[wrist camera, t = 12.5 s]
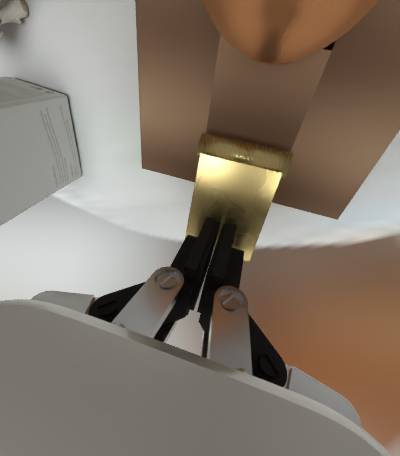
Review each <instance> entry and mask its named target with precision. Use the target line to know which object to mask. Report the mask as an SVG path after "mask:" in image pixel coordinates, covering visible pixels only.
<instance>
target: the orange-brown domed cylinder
mask: <svg viewBox="0 0 400 456" xmlns="http://www.w3.org/2000/svg"><path fill="white" fill-rule="evenodd" d="M203 1H204V4H205V6H206V9H207V11H208V13H209V15H210V18H211V20H212V21H213V23H214V25H215V26H216V28H217V30H218V31H219V32H220V34H221V35H222V36H223V37H224V39H225V40H226V41H227V42H228V43H229V44H230V45H232V46H233V47H234V48H235V49H236V50H238V51H239V52H241V53H242V54H244V55H246V56H248V57H249V58H251V59H253V60H255V61H258V62H260V63H264V64H270V65H281V64H288V63H292V62H295V61H298V60H300V59H303V58H305V57H307V56H309V55H311V54H313V53H315V52H317V51H319V50H321V49H323V48H325V47H327V46H328V45H330V44H331V43H333V42H334V41H336V40H337V39H339V38H340V37H341V36H343V35H344V34H345V33H346V32H348V31H349V30H350V29H351V28H352V27H354V26H355V25H356V24H357V23H358V22H359V21H360V20H361V19H362V18H363V17H364V16H365V15H366V14H367V13H368V12H369V11H370V10H371V9H372V8H373V6H374V5H375V4H376V3H377V2H378V1H379V0H203Z"/></svg>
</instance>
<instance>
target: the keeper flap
mask: <svg viewBox="0 0 400 456" xmlns="http://www.w3.org/2000/svg"><path fill="white" fill-rule="evenodd" d="M197 157H199V158H200V159H199V164H198V170H197V175H196V181H195V186H194V192H193V197H192V203H191V208H190V214H189V219H188V225H187V230H186V236H185V238H186V237H187V235H191V236H195V237H198V235H199V233H200V231H201V229H202V227H203V225H204V223H205V220H206V218H207V217H212V218H215V219H217V222H220V224H219V228H218V232H217V236H216V240H215V244H214V248H213V251H214V250H215V247H216V244H217V241H218V238H219V235H220V232H221V229H222V226H223V223H224V224H227V223H228V222H230V223H233V224H237V228H236V232H235V236H234V241H233V245H232V248H236V249H239V250H243V251H244V259H243V260H246V261H250V258H251V255H252V253H253V250H254V247H255V245H256V242H257V239H258V237H259V234H260V232H261V229H262V226H263V224H264V221H265V218H266V216H267V213H268V210H269V208H270V205H271V202H272V200H273V197H274V194H275V192H276V189H277V186H278V184H279V181H280V179H281V178H284V177H285V176H286V174H287V172H288V170H289V167H290V165H291V162H292V158H293V153H291V152H287V151H283V150H278V149H274V148H269V147H265V146H261V145H256V144H252V143H247V142H243V141H239V140H234V139H230V138H225V137H221V136H217V135H212V134H208V133H202V134H201V136H200V139H199V142H198V147H197Z"/></svg>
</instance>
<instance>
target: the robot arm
mask: <svg viewBox="0 0 400 456" xmlns="http://www.w3.org/2000/svg"><path fill="white" fill-rule="evenodd" d="M219 224H220V222H217V219H215V218H212V217H207V218H206V220H205V223H204V225H203V227H202V229H201V231H200V233H199V235H198V237H195V236H191V235H187V237H186V238H185V240H184V242H183V244H182V246H181V248H180V250H179V251H178V253H177V255H176V257H175V259H174V261H173V263H172V264H171V266H170V267H162V268H160V269H158V270H156V271H155V272H154V273H153V274H152V275H151V277H150V278H149V279H148V280H147V281H146V282H144V283H141V284H138V285H134V286H132V287H129V288H125V289H122V290H119V291H116V292H113V293H110V294H107V295H104V296H102V297H100V298H95V297H94V295H87V294H77V293H68V292H59V291H45V292H42V293H39V294H38V295H36V296H34V297H33V298H32V299H31V300H5V301H0V456H392V455H391V454H390V453H389V452H388V451H387V450H386V449H385V448H384V447H383V446H382V445H381V444H380V443H379V442H377V441H376V440H375V439H374V438H373V437H372V436H371V435H369V434H368V433H367V432H366V431H365V430H363V429H362V426H361V421H360V418H359V416H358V414H357V412H356V410H355V408H354V407H353V406H352V405H351V403H350V402H349V401H348V400H346V399H345V398H344V397H343V396H341V395H340V394H338V393H336V392H335V391H333V390H331V389H330V388H328V387H327V386H325V385H323V384H321V383H320V382H318V381H316V380H315V379H313V378H312V377H310V376H308V375H307V374H305V373H303V372H302V371H300V370H299V369H297V368H295V367H294V366H292V367H289V366H288V365H286V364H285V363H284V361H283V360H282V358H281V357H280V355H279V354H278V353H277V351H276V350H275V349H274V347H273V346H272V345H271V343H270V342H269V340H268V339H267V338H266V336H265V335H264V334H263V332H262V331H261V330H260V328H259V327H258V326H257V324H256V323H255V322H254V320H253V319H252V318H251V316H250V315H249V314H248V302H247V298H246V296H245V295H244V293H243V292H241V290H239V284H240V278H241V271H242V265H243V259H244V251H243V250H239V249H236V248H232V245H233V241H234V236H235V232H236V228H237V224H233V223H230V222H228V223H227V224H224V223H223V226H222V229H221V232H220V235H219V238H218V241H217V244H216V247H215V250H214V253H213V256H212V252H213V248H214V244H215V240H216V236H217V232H218V228H219ZM211 256H212V259H211ZM210 260H211V262H210ZM209 263H210V265H209ZM208 266H209V268H208ZM207 269H208V271H207ZM206 272H207V275H206ZM205 275H206V279H205V283H204V286H203V290H202V295H201V299H200V303H199V307H198V311H197V312H200V313H201V315H200V319H199V323H200V324H201V326H202V328H203V330H204V331H203V337H202V346H201V353H200V356H199V355H196V354H193V353H190V352H188V351H185V350H182V349H180V348H177V347H174V346H172V345H169V344H166V342H167V340H168V338H169V336H170V335H171V333H172V331H173V329H174V328H175V326H176V324H177V322H178V320H179V319H182V318H184V317H185V316H186V315H188V313H189V310H190V309H191V310H194V308H195V304H196V302H197V299H198V296H199V293H200V290H201V287H202V284H203V281H204V278H205Z"/></svg>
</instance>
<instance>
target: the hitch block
mask: <svg viewBox="0 0 400 456" xmlns="http://www.w3.org/2000/svg"><path fill="white" fill-rule="evenodd" d="M135 1H136V27H137V52H138V78H139V103H140V129H141V154H142V168H143V169H147V170H151V171H155V172H159V173H162V174H166V175H170V176H174V177H178V178H181V179H185V180H189V181H193V182H195V181H196V175H197V170H198V164H199V159H200V158H199V157H197V147H198V142H199V139H200V136H201V134H202V133H208V134H212V135H217V136H221V137H225V138H230V139H234V140H239V141H243V142H247V143H252V144H256V145H261V146H265V147H269V148H274V149H278V150H283V151H287V152H291V153H293V158H292V162H291V165H290V167H289V170H288V172H287V174H286V176H285V177H284V178H281V179H280V181H279V184H278V186H277V189H276V192H275V194H274V197H273V200H272V202H273V203H277V204H281V205H284V206H288V207H292V208H296V209H300V210H303V211H307V212H311V213H315V214H319V215H323V216H326V217H330V218H334V219H338V218H339V217H340V215H341V214H342V212H343V211H344V209H345V208H346V206H347V205H348V204H349V202H350V201H351V199H352V198H353V196H354V195H355V193H356V192H357V191H358V189H359V188H360V186H361V185H362V183H363V182H364V180H365V179H366V178H367V176H368V175H369V173H370V172H371V170H372V169H373V167H374V166H375V164H376V163H377V162H378V160H379V159H380V157H381V156H382V154H383V153H384V151H385V150H386V149H387V147H388V146H389V144H390V143H391V141H392V140H393V138H394V137H395V136H396V134H397V133H398V131H399V130H400V0H379V1H378V2H377V3H376V4H375V5H374V6H373V8H372V9H371V10H370V11H369V12H368V13H367V14H366V15H365V16H364V17H363V18H362V19H361V20H360V21H359V22H358V23H357V24H356V25H355V26H354V27H352V28H351V29H350V30H349V31H348V32H346V33H345V34H344V35H343V36H341V37H340V38H339V39H337V40H336V41H334V42H333V43H331V44H330V45H328V46H327V47H325V48H323V49H321V50H319V51H317V52H315V53H313V54H311V55H309V56H307V57H305V58H303V59H300V60H298V61H295V62H292V63H288V64H281V65H270V64H264V63H260V62H258V61H255V60H253V59H251V58H249V57H248V56H246V55H244V54H242V53H241V52H239V51H238V50H236V49H235V48H234V47H233V46H232V45H230V44H229V43H228V42H227V41H226V40H225V39H224V37H223V36H222V35H221V34H220V32H219V31H218V30H217V28H216V26H215V25H214V23H213V21H212V20H211V18H210V15H209V13H208V11H207V9H206V6H205V4H204V1H203V0H135Z"/></svg>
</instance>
